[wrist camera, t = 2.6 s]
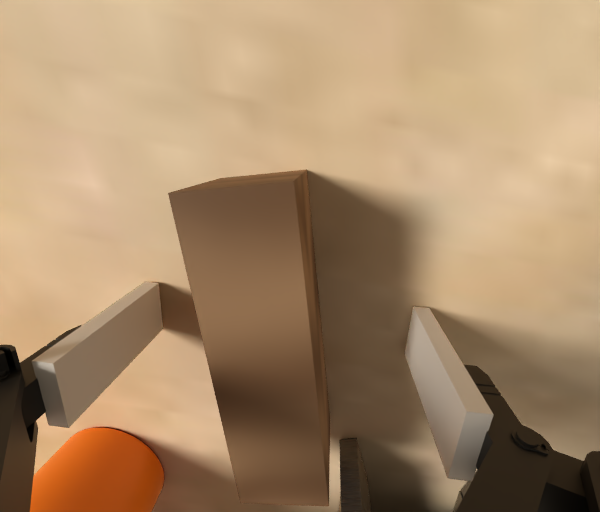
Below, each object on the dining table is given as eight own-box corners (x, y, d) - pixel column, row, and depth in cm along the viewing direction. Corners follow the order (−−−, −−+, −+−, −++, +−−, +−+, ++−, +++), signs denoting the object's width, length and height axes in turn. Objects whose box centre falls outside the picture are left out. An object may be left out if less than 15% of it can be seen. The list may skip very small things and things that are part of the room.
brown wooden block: (221, 177, 15) (168, 193, 10) (307, 169, 14) (293, 180, 9) (263, 415, 19) (240, 503, 14) (329, 414, 19) (328, 506, 14)
